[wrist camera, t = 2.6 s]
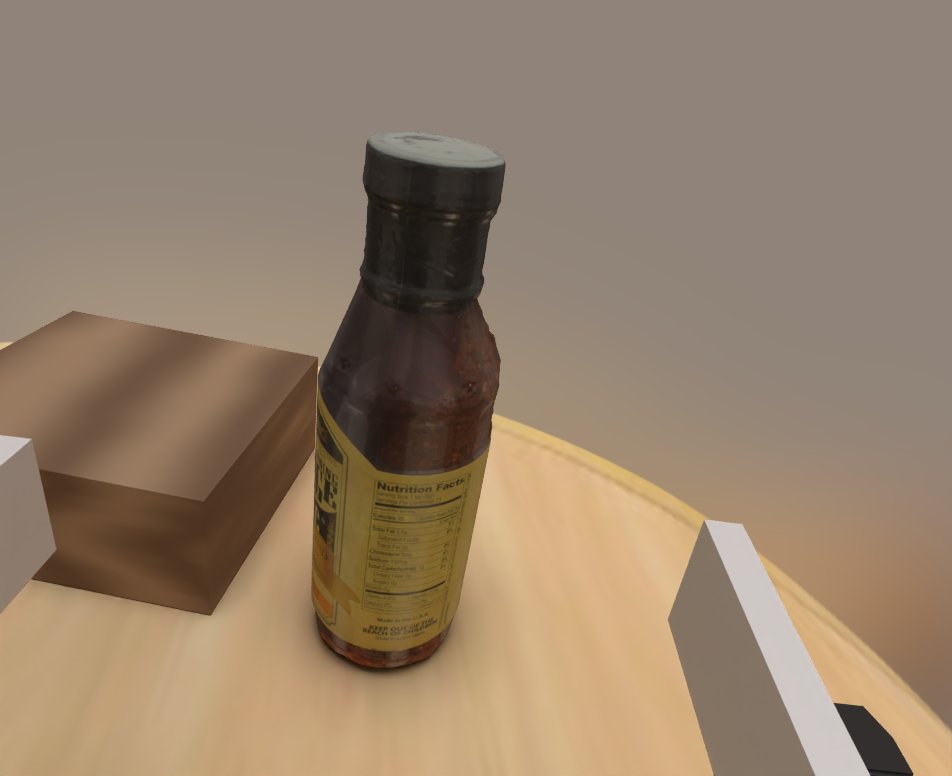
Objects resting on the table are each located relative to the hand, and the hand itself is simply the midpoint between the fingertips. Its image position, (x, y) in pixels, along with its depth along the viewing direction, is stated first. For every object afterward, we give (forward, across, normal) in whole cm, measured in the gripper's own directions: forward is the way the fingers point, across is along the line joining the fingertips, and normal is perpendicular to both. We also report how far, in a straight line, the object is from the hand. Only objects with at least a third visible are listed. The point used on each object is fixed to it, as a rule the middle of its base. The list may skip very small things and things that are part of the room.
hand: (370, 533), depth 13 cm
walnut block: (+16, -14, -13) cm, 25 cm away
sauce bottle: (+10, 0, -14) cm, 17 cm away
